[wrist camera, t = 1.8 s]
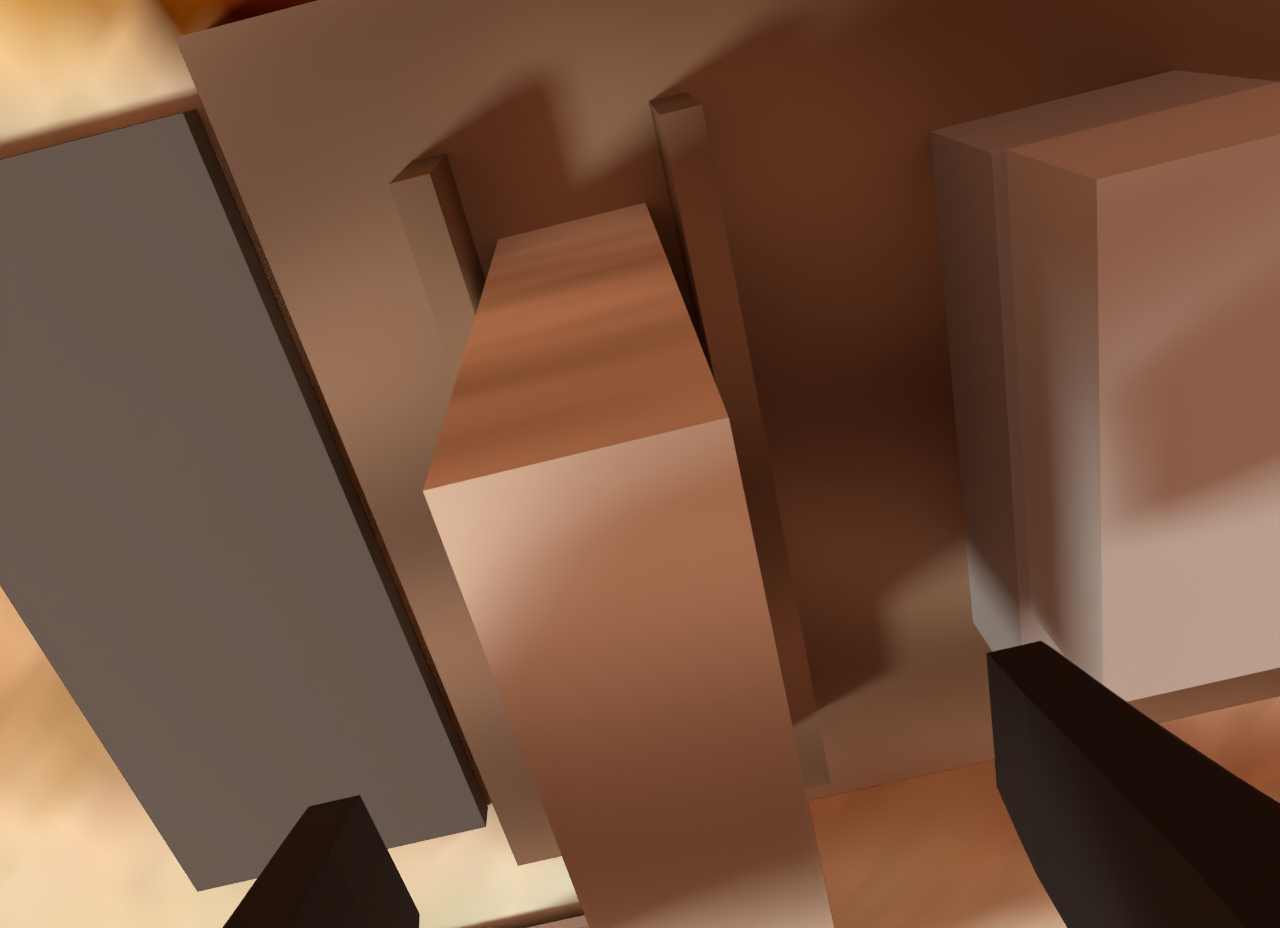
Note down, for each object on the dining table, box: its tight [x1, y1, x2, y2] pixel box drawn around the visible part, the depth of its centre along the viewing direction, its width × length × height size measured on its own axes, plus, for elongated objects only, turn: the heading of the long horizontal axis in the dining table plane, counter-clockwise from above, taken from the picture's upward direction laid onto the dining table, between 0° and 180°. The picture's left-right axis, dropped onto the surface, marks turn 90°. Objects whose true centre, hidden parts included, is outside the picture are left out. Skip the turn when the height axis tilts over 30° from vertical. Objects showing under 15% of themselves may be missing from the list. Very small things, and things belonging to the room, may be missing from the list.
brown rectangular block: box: [423, 203, 834, 928], centre depth 14 cm, size 10×2×9 cm, turn 13°
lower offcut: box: [930, 70, 1280, 657], centre depth 16 cm, size 10×4×2 cm, turn 13°
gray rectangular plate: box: [0, 109, 488, 891], centre depth 19 cm, size 16×7×1 cm, turn 13°
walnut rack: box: [176, 0, 1280, 866], centre depth 17 cm, size 18×18×3 cm
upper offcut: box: [1006, 85, 1280, 702], centre depth 14 cm, size 8×4×2 cm, turn 13°
